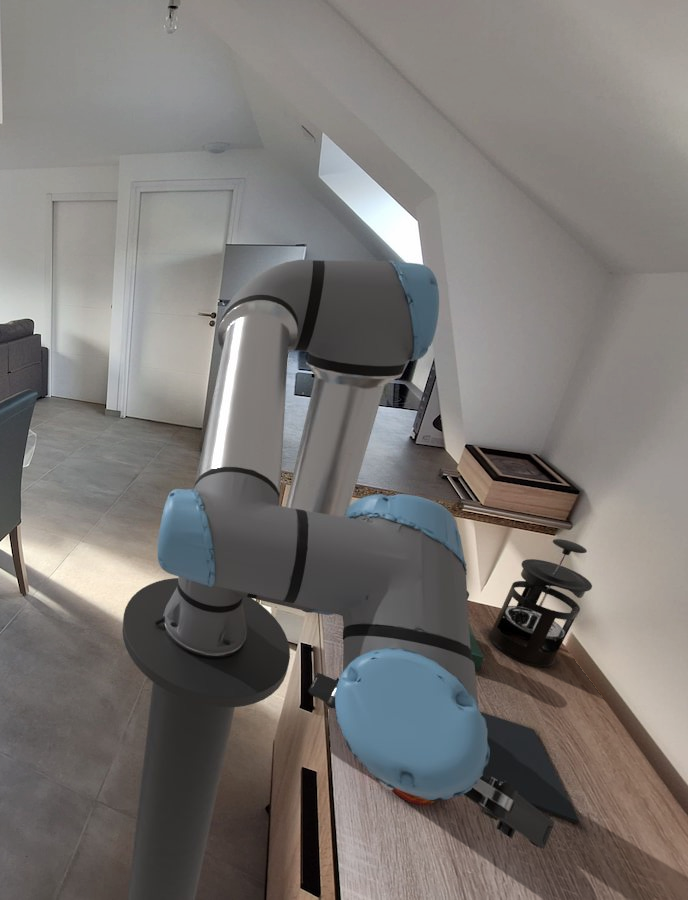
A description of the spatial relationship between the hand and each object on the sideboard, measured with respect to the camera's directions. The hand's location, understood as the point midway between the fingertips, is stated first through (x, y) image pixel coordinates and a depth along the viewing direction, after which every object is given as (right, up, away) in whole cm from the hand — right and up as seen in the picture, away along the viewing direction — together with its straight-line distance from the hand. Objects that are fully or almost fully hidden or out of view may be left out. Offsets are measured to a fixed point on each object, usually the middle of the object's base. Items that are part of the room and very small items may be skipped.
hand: (413, 751), depth 51 cm
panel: (+29, -2, +36) cm, 46 cm away
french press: (+45, -3, +35) cm, 57 cm away
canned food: (+7, -11, +11) cm, 17 cm away
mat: (+21, -10, +15) cm, 28 cm away
